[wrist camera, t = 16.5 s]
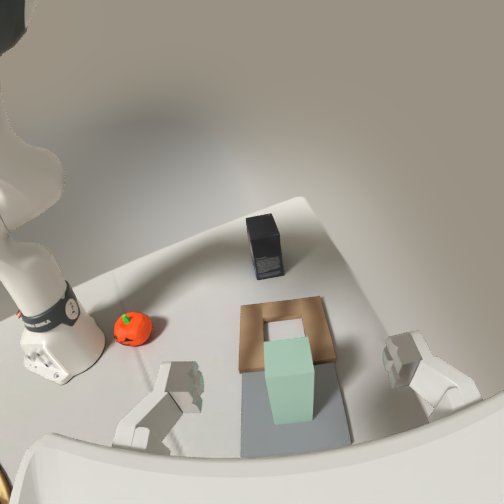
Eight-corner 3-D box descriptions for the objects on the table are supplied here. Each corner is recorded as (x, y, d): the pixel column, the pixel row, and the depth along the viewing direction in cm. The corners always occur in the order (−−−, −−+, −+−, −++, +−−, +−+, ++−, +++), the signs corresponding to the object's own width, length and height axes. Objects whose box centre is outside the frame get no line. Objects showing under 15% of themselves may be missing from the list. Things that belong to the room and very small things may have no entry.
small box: (250, 255, 73) (244, 217, 67) (277, 251, 73) (272, 212, 67) (255, 281, 63) (248, 238, 58) (285, 275, 64) (281, 232, 58)
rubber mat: (241, 457, 31) (240, 456, 30) (243, 375, 43) (242, 373, 42) (350, 445, 30) (351, 443, 29) (333, 365, 42) (333, 362, 41)
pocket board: (239, 373, 43) (238, 369, 42) (241, 310, 56) (240, 305, 55) (335, 362, 42) (336, 357, 41) (319, 300, 55) (319, 296, 54)
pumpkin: (159, 345, 51) (147, 323, 47) (121, 355, 49) (106, 335, 45) (154, 317, 57) (143, 296, 53) (119, 328, 55) (106, 307, 51)
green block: (274, 424, 34) (265, 377, 28) (273, 394, 38) (263, 341, 32) (312, 420, 33) (314, 372, 27) (308, 390, 38) (307, 336, 32)
